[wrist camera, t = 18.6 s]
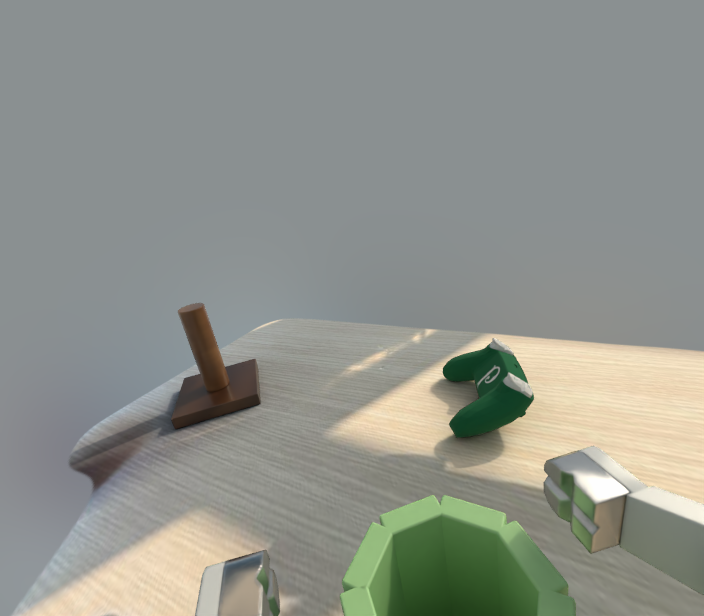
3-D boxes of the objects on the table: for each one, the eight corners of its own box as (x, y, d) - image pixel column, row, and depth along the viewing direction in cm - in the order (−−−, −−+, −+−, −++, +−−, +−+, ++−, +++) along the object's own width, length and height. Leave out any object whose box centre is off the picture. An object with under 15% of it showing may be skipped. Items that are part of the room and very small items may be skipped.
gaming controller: (486, 462, 26) (551, 413, 24) (445, 433, 26) (508, 380, 24) (469, 389, 35) (516, 347, 32) (438, 366, 34) (484, 322, 32)
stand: (174, 429, 34) (134, 333, 30) (187, 387, 41) (156, 305, 38) (260, 403, 35) (231, 309, 32) (258, 367, 43) (234, 287, 39)
